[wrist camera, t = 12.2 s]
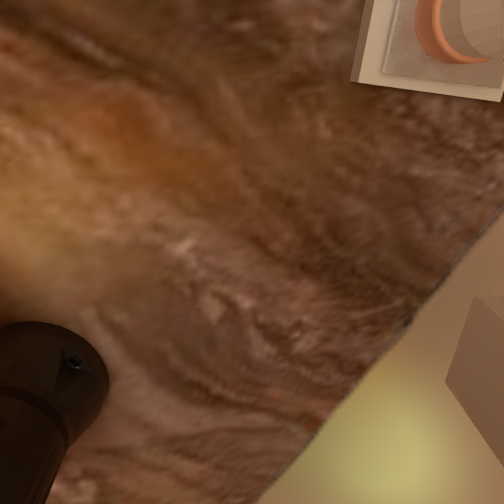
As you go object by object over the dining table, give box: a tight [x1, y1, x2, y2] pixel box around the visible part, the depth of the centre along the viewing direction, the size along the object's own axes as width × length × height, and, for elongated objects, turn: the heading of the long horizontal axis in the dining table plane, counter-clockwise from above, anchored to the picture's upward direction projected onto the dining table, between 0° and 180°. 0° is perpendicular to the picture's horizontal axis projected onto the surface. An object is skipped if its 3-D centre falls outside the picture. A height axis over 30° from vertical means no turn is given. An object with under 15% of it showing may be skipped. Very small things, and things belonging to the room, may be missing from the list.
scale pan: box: [382, 0, 504, 89], centre depth 37 cm, size 10×10×1 cm
